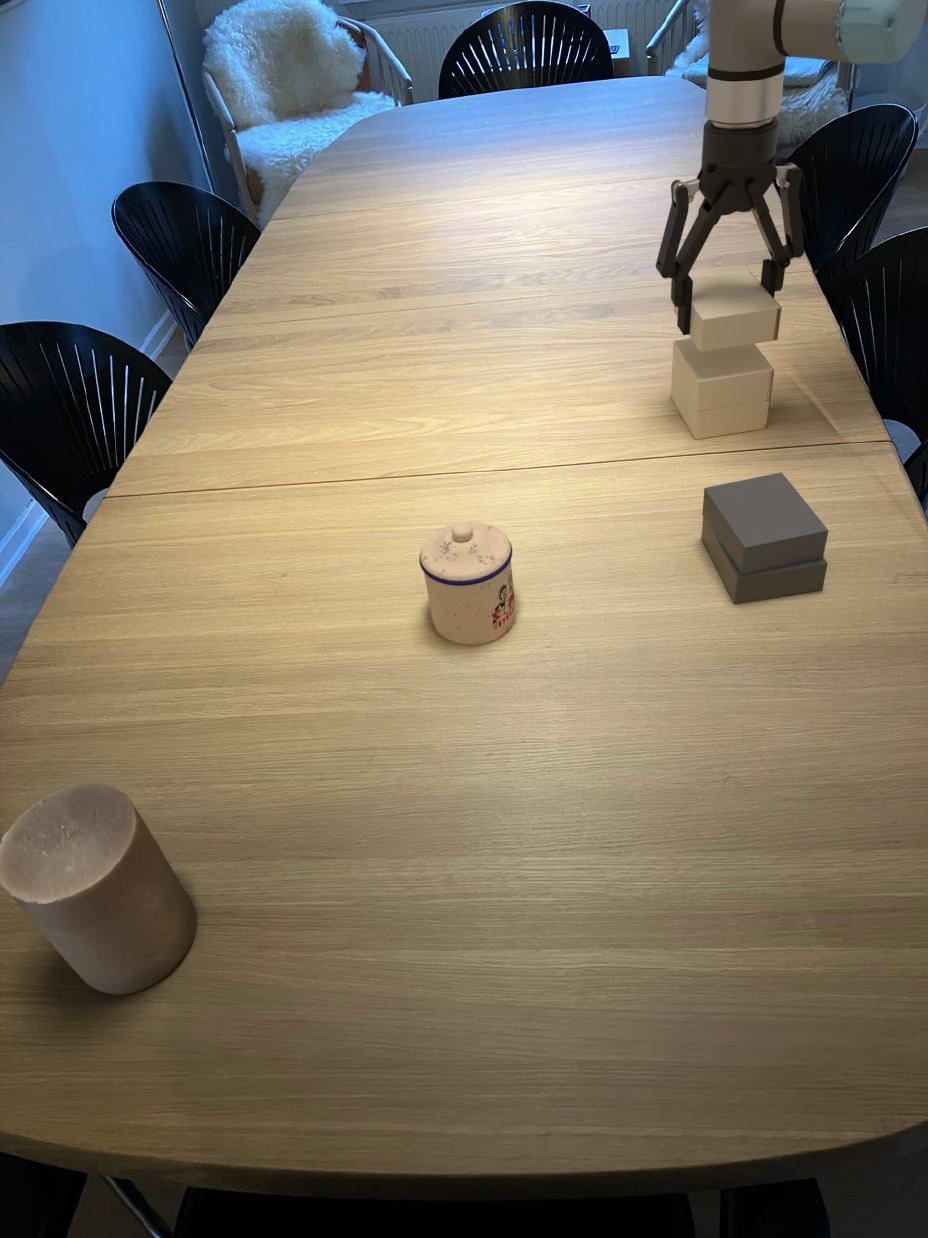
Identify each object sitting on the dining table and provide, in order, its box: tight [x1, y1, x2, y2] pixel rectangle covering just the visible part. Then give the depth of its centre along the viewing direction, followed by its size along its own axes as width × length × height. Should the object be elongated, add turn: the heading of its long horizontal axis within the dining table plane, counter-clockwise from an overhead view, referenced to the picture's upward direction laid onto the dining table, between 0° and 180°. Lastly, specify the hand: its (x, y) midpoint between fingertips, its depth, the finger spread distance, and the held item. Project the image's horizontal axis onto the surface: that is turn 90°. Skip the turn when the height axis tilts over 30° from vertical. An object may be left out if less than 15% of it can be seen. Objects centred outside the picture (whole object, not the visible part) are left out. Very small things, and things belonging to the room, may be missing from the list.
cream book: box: [673, 269, 783, 352], centre depth 109 cm, size 9×11×4 cm
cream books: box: [670, 337, 775, 440], centre depth 116 cm, size 9×11×8 cm
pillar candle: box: [0, 782, 198, 996], centre depth 67 cm, size 10×10×15 cm
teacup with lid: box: [418, 521, 517, 646], centre depth 92 cm, size 12×9×12 cm
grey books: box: [700, 472, 829, 605], centre depth 94 cm, size 9×11×7 cm
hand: (723, 323), depth 110 cm, fingers closed on cream book, 9 cm apart
